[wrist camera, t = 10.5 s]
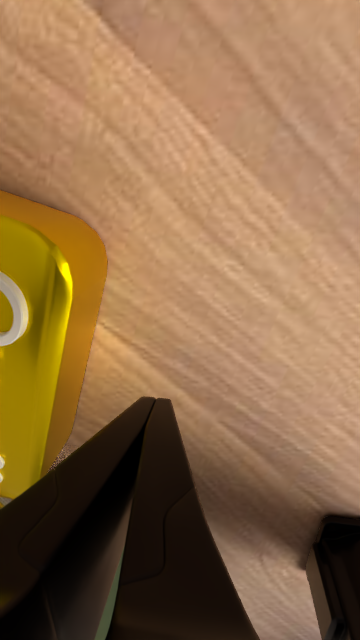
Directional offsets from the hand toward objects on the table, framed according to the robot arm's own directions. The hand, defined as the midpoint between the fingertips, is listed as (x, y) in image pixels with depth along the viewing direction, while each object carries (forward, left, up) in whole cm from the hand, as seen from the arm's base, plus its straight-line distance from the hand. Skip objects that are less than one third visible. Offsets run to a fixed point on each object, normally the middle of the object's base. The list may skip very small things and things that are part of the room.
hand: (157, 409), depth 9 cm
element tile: (+12, +1, -7) cm, 15 cm away
